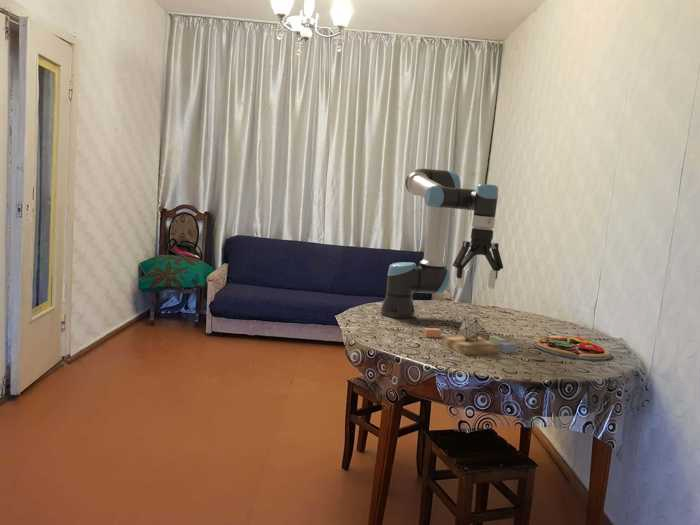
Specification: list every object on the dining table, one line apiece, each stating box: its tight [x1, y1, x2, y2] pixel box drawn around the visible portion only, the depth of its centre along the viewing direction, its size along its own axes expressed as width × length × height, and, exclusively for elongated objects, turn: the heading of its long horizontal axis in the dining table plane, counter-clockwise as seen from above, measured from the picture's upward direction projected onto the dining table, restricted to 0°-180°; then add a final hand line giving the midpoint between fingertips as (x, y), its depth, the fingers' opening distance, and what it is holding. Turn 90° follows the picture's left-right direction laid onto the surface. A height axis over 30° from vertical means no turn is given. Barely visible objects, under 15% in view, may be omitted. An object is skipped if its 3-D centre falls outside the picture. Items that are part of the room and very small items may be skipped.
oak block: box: [440, 334, 498, 355], centre depth 203 cm, size 14×14×3 cm
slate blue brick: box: [497, 341, 518, 354], centre depth 204 cm, size 6×3×3 cm, turn 120°
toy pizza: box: [532, 335, 613, 361], centre depth 215 cm, size 28×28×4 cm
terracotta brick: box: [422, 327, 442, 338], centre depth 218 cm, size 6×3×3 cm, turn 106°
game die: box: [456, 316, 486, 341], centre depth 203 cm, size 9×8×10 cm
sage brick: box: [488, 335, 507, 345], centre depth 213 cm, size 6×3×3 cm, turn 25°
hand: (475, 287), depth 205 cm, fingers open, 13 cm apart
